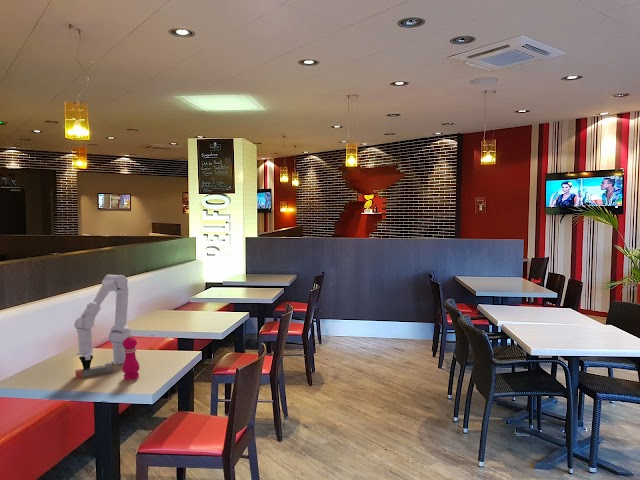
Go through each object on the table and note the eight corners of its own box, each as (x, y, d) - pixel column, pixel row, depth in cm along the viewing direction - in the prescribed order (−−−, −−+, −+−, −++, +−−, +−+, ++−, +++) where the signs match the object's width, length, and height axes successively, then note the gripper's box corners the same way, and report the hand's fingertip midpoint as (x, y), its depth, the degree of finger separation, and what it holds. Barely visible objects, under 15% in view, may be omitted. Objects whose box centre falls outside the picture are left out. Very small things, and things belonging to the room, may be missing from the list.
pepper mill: (143, 375, 224) (141, 332, 222) (132, 381, 217) (130, 336, 216) (130, 374, 226) (128, 331, 225) (119, 379, 219) (117, 335, 218)
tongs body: (111, 369, 233) (111, 362, 233) (113, 372, 229) (113, 365, 229) (75, 376, 225) (74, 369, 225) (76, 379, 221) (76, 372, 221)
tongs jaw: (103, 371, 231) (102, 365, 230) (103, 372, 229) (103, 366, 229) (75, 376, 224) (75, 370, 224) (75, 377, 223) (75, 371, 223)
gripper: (73, 340, 230) (75, 369, 231) (77, 347, 218) (79, 377, 219) (90, 338, 234) (91, 366, 235) (94, 345, 222) (96, 374, 223)
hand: (86, 371), depth 227 cm, fingers closed
